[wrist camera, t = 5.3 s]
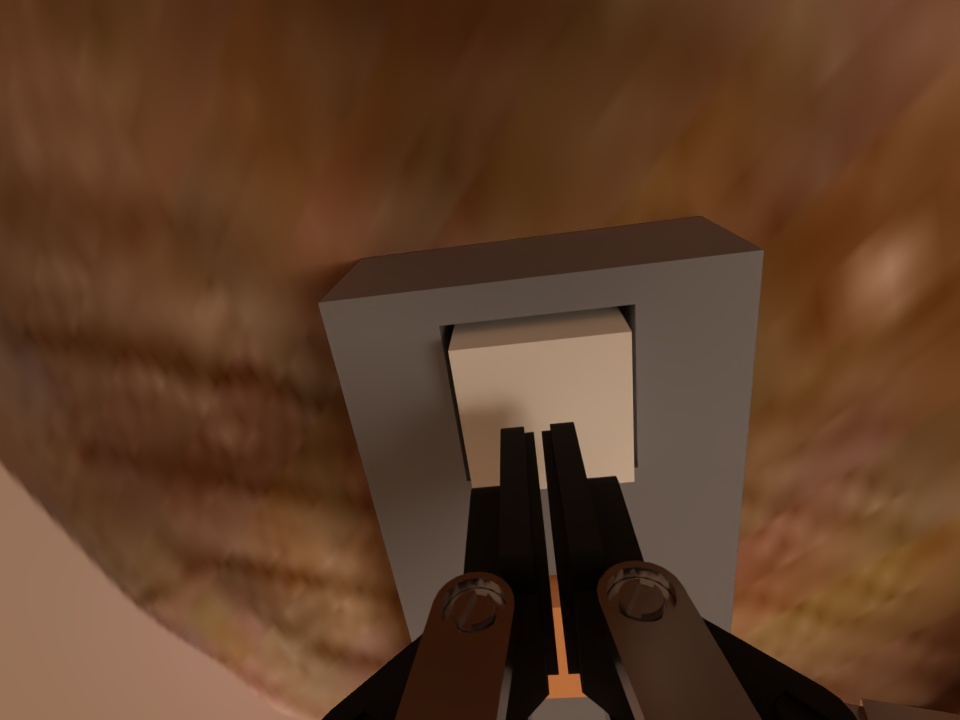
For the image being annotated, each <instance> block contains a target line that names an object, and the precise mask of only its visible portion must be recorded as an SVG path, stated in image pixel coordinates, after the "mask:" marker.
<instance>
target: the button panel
mask: <svg viewBox="0 0 960 720" xmlns="http://www.w3.org/2000/svg"><path fill="white" fill-rule="evenodd" d="M763 255H764V250H763V249H761V248H759V247H758V246H756V245H754V244H752V243H750V242H748V241H747V240H745V239H743V238H741V237H739V236H737V235H735V234H734V233H732V232H730V231H728V230H726V229H724V228H723V227H721V226H719V225H717V224H715V223H713V222H712V221H710V220H708V219H706V218H704V217H702V216H697V217H689V218H681V219H673V220H665V221H658V222H650V223H642V224H634V225H626V226H618V227H610V228H602V229H594V230H586V231H578V232H570V233H562V234H554V235H546V236H538V237H530V238H522V239H514V240H506V241H498V242H491V243H483V244H475V245H467V246H459V247H451V248H443V249H435V250H427V251H419V252H411V253H403V254H395V255H387V256H379V257H371V258H363V259H361V260H360V261H359V262H358V263H357V264H356V265H355V266H354V267H353V268H352V269H351V270H350V271H349V272H348V273H347V274H346V275H345V276H344V277H343V278H342V279H341V280H340V281H339V282H338V283H337V284H336V285H335V286H334V287H333V288H332V289H331V290H330V291H329V292H328V293H327V294H326V295H325V296H324V297H323V298H322V299H321V300H320V301H319V302H318V305H319V309H320V312H321V316H322V320H323V323H324V327H325V330H326V334H327V338H328V341H329V345H330V349H331V352H332V356H333V359H334V363H335V367H336V370H337V374H338V377H339V381H340V385H341V388H342V392H343V396H344V399H345V403H346V406H347V410H348V414H349V417H350V421H351V424H352V428H353V432H354V435H355V439H356V443H357V446H358V450H359V453H360V457H361V461H362V464H363V468H364V471H365V475H366V479H367V482H368V486H369V489H370V493H371V497H372V500H373V504H374V508H375V511H376V515H377V518H378V522H379V526H380V529H381V533H382V536H383V540H384V544H385V547H386V551H387V555H388V558H389V562H390V565H391V569H392V573H393V576H394V580H395V583H396V587H397V591H398V594H399V598H400V602H401V605H402V609H403V612H404V616H405V620H406V623H407V627H408V630H409V634H410V638H411V641H412V642H413V641H414V640H416V639H417V638H418V637H419V636H420V635H422V634H423V631H424V628H425V625H426V622H427V619H428V616H429V613H430V610H431V606H432V603H433V601H434V599H435V597H436V595H437V593H438V591H439V590H440V589H441V588H442V587H443V586H444V585H445V584H446V583H447V582H449V581H450V580H452V579H453V578H455V577H457V576H460V575H463V573H464V562H465V550H466V539H467V528H468V517H469V506H470V495H471V489H472V483H471V478H470V472H469V466H468V461H467V455H466V449H465V444H464V438H463V432H462V427H461V421H460V415H459V410H458V404H457V398H456V393H455V387H454V381H453V376H452V370H451V364H450V359H449V353H448V350H449V346H450V342H451V338H452V334H453V330H454V326H455V324H461V323H470V322H480V321H489V320H498V319H507V318H516V317H525V316H534V315H543V314H552V313H561V312H570V311H579V310H588V309H597V308H606V307H615V306H618V308H619V310H620V312H621V313H622V315H623V317H624V319H625V321H626V322H627V324H628V326H629V328H630V329H631V331H632V375H633V428H634V482H626V483H619V484H620V488H621V491H622V494H623V497H624V500H625V503H626V506H627V509H628V513H629V516H630V519H631V522H632V525H633V528H634V531H635V534H636V538H637V541H638V544H639V547H640V550H641V553H642V556H643V559H644V562H650V563H653V564H656V565H658V566H661V567H663V568H665V569H666V570H668V571H669V572H671V573H672V574H673V575H675V576H676V578H677V579H678V580H679V581H680V582H681V584H682V585H683V587H684V588H685V590H686V592H687V593H688V595H689V597H690V598H691V600H692V602H693V604H694V605H695V607H696V609H697V610H698V612H699V614H700V615H701V617H702V618H704V619H706V620H708V621H709V622H711V623H713V624H715V625H716V626H718V627H720V628H722V629H723V630H725V631H727V632H729V633H730V634H731V623H732V612H733V600H734V589H735V577H736V566H737V554H738V543H739V531H740V520H741V508H742V497H743V485H744V474H745V462H746V451H747V439H748V428H749V416H750V405H751V393H752V382H753V370H754V358H755V347H756V335H757V324H758V312H759V301H760V289H761V278H762V266H763ZM540 493H541V502H542V511H543V520H544V529H545V539H546V549H547V559H548V569H549V575H557V573H556V564H555V555H554V547H553V538H552V529H551V520H550V510H549V501H548V491H547V489H540ZM532 720H606V718H605V711H604V710H603V709H602V708H601V707H599V706H598V705H597V704H596V703H594V702H593V701H592V700H591V699H590V698H588V697H574V698H548V699H545V700H544V701H543V702H542V703H541V704H540V705H539V706H538V708H537V709H536V710H535V711H534V712H533V713H532Z"/></svg>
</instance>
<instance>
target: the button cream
mask: <svg viewBox="0 0 960 720" xmlns="http://www.w3.org/2000/svg"><path fill="white" fill-rule="evenodd" d="M448 353H449V359H450V364H451V370H452V376H453V381H454V387H455V393H456V398H457V404H458V410H459V415H460V421H461V427H462V432H463V438H464V444H465V449H466V455H467V461H468V466H469V472H470V478H471V483H472V488H479V487H490V486H500V430H501V429H502V428H513V427H523V426H524V431H525V433H526V432H534V438H535V447H536V457H537V466H538V475H539V484H540V489H547V481H546V472H545V462H544V452H543V443H542V433H541V431H547V430H550V424H555V423H565V422H574V425H575V429H576V433H577V438H578V442H579V446H580V451H581V455H582V459H583V463H584V468H585V472H586V476H587V478H596V477H608V476H616V477H617V479H618V481H619V483H626V482H634V428H633V375H632V331H631V329H630V328H629V326H628V324H627V322H626V321H625V319H624V317H623V315H622V313H621V312H620V310H619V308H618V306H615V307H606V308H597V309H588V310H579V311H570V312H561V313H552V314H543V315H534V316H525V317H516V318H507V319H498V320H489V321H480V322H470V323H461V324H455V326H454V330H453V334H452V338H451V342H450V346H449V350H448Z"/></svg>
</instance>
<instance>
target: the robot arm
mask: <svg viewBox="0 0 960 720" xmlns="http://www.w3.org/2000/svg"><path fill="white" fill-rule="evenodd" d="M541 433H542V443H543V452H544V462H545V472H546V481H547V491H548V501H549V510H550V520H551V529H552V538H553V547H554V555H555V564H556V573H557V581H558V590H559V598H560V607H561V615H562V624H563V632H564V641H565V649H566V658H567V667H568V674H580V681H581V688H582V693H584V694H585V695H586V696H587V697H588V698H590V699H591V700H592V701H593V702H594V703H596V704H597V705H598V706H599V707H601V708H602V709H603V710H604V711H605V718H606V720H960V714H954V713H948V712H942V711H936V710H929V709H923V708H917V707H911V706H905V705H899V704H893V703H887V702H880V701H874V700H868V699H862V698H861V699H860V704H859V706H858V705H852V704H846V703H844V702H843V701H842V700H841V699H840V698H838V697H837V696H835V695H834V694H833V693H831V692H830V691H828V690H827V689H826V688H824V687H823V686H821V685H819V684H817V683H816V682H814V681H812V680H810V679H809V678H807V677H805V676H803V675H802V674H800V673H798V672H796V671H795V670H793V669H791V668H789V667H788V666H786V665H784V664H783V663H781V662H779V661H777V660H776V659H774V658H772V657H770V656H769V655H767V654H765V653H763V652H762V651H760V650H758V649H756V648H755V647H753V646H751V645H749V644H748V643H746V642H744V641H742V640H741V639H739V638H737V637H736V636H734V635H732V634H730V633H729V632H727V631H725V630H723V629H722V628H720V627H718V626H716V625H715V624H713V623H711V622H709V621H708V620H706V619H704V618H702V617H701V615H700V614H699V612H698V610H697V609H696V607H695V605H694V604H693V602H692V600H691V598H690V597H689V595H688V593H687V592H686V590H685V588H684V587H683V585H682V584H681V582H680V581H679V580H678V579H677V578H676V576H675V575H673V574H672V573H671V572H669V571H668V570H666V569H665V568H663V567H661V566H658V565H656V564H653V563H650V562H644V559H643V556H642V553H641V550H640V547H639V544H638V541H637V538H636V534H635V531H634V528H633V525H632V522H631V519H630V516H629V513H628V509H627V506H626V503H625V500H624V497H623V494H622V491H621V488H620V484H619V481H618V479H617V477H616V476H608V477H596V478H587V476H586V472H585V468H584V463H583V459H582V455H581V451H580V446H579V442H578V438H577V433H576V429H575V425H574V422H565V423H555V424H550V430H547V431H541ZM548 675H559V669H558V659H557V649H556V639H555V629H554V619H553V609H552V599H551V589H550V579H549V569H548V559H547V549H546V539H545V529H544V520H543V511H542V502H541V493H540V484H539V475H538V466H537V457H536V447H535V438H534V432H526V433H525V431H524V426H523V427H513V428H502V429H501V430H500V486H490V487H479V488H472V489H471V495H470V506H469V517H468V528H467V539H466V550H465V562H464V573H463V575H460V576H457V577H455V578H453V579H452V580H450V581H449V582H447V583H446V584H445V585H444V586H443V587H442V588H441V589H440V590H439V591H438V593H437V595H436V597H435V599H434V601H433V603H432V606H431V610H430V613H429V616H428V619H427V622H426V625H425V628H424V631H423V634H422V635H420V636H419V637H418V638H417V639H416V640H414V641H413V642H412V643H411V644H410V645H408V646H407V647H406V648H405V649H404V650H402V651H401V652H400V653H399V654H398V655H396V656H395V657H394V658H393V659H392V660H390V661H389V662H388V663H387V664H386V665H384V666H383V667H382V668H381V669H380V670H378V671H377V672H376V673H375V674H374V675H373V676H371V677H370V678H369V679H368V680H367V681H365V682H364V683H363V684H362V685H361V686H359V687H358V688H357V689H356V690H355V691H353V692H352V693H351V694H350V695H349V696H347V697H346V698H345V699H344V700H343V701H341V702H340V703H339V704H338V705H337V706H335V707H334V708H333V709H332V710H331V711H330V712H329V713H328V714H327V715H326V716H325V717H324V718H323V719H322V720H532V713H533V712H534V711H535V710H536V709H537V708H538V706H539V705H540V704H541V703H542V702H543V701H544V700H545V699H546V698H547V696H548V695H550V694H549V681H548Z"/></svg>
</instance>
